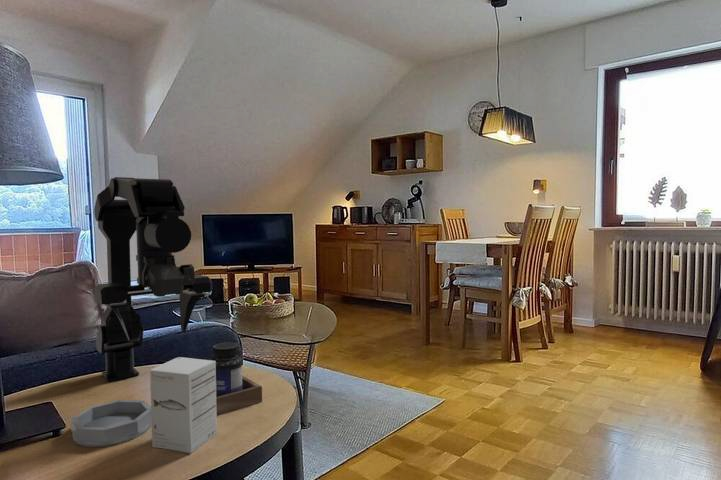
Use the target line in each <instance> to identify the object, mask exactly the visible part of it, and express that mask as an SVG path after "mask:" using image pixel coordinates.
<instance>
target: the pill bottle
mask: <svg viewBox="0 0 721 480" xmlns="http://www.w3.org/2000/svg"><path fill="white" fill-rule="evenodd" d="M238 351H239V345H238V343H237V342H232V341H231V342H230V341H226V342H219V343H216V344H214V345H213V346H212V354H214V356H213V357H211V359H210V360H212V361H216V397H219V396H222V395H226V394H230V393H234V392H237V391H241V390H242V376H243V359H242V357H241V355H239V354H238Z"/></svg>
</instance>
